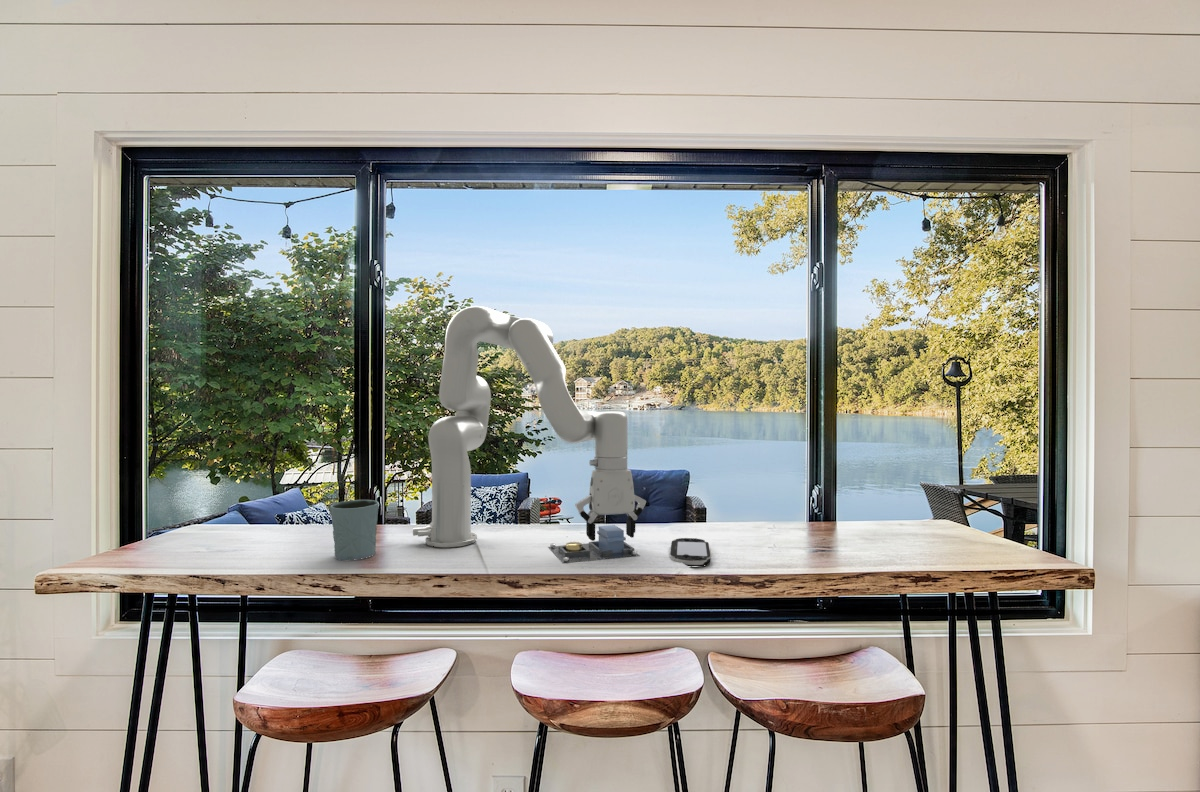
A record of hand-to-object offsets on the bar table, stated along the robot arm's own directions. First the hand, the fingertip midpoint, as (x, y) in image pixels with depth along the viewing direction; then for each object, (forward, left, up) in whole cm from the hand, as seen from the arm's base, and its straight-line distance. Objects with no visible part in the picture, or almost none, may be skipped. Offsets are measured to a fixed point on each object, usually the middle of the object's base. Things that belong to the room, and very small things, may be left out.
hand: (611, 537), depth 132 cm
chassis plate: (-5, 0, -4) cm, 6 cm away
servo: (0, 0, -3) cm, 3 cm away
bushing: (-9, 0, -3) cm, 9 cm away
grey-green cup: (-57, +17, -4) cm, 59 cm away
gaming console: (+17, -7, -4) cm, 19 cm away
